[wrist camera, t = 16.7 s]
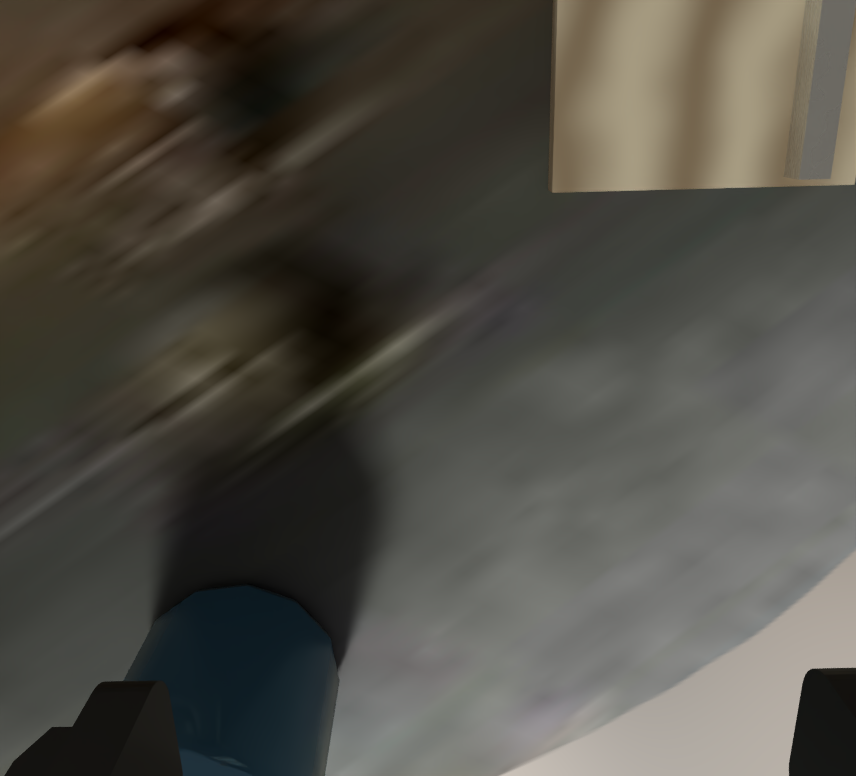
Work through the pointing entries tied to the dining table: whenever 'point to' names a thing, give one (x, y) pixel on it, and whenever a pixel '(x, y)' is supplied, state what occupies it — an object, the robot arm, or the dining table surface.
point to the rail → (819, 88)
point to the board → (681, 95)
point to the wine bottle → (244, 682)
